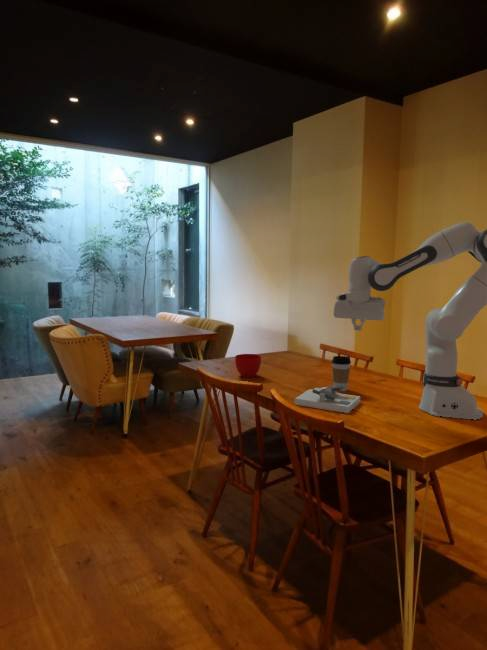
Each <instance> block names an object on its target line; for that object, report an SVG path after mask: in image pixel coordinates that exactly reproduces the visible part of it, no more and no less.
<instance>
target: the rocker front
mask: <svg viewBox="0 0 487 650" xmlns="http://www.w3.org/2000/svg"><path fill="white" fill-rule="evenodd" d="M312 390H313V393H315V394H318V395H320V393H322V394H325V397H326V398H328V399H331V400H333V401H334V400H335V399H336V398H337V395H335V394H332V393H330V392H327V391H324V390H322V389H321V387H320V388H319V387H315V388H313V389H312Z"/></svg>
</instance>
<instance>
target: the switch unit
mask: <svg viewBox="0 0 487 650" xmlns="http://www.w3.org/2000/svg"><path fill="white" fill-rule="evenodd" d="M330 387H334V385H330ZM324 391H327V392H330V393H332V394H335V395H337V398H336V399H335V400H334V401H333V400H331V399H328V398H326V397H325V394H322V393H320V395H318V394H315V393H313V389H311V388H310V389H308V390H306V391H304V392H302V394H300V395H298V396H296V397H294V405H295V404H296V406H302V407H308V408H314V409H321V410H327V411H332V412H337V413H338V412H339V413H343V412H344V413H345V414H349V413H351V412H352V411H351V410H352V409H353V410H354V409H355V408H356V407H357V406H358V405H359V404H360V403H361V396H360V395H355V394H354V395H353V394H346V393H339V392H337V391H332V389H326V390H324ZM350 411H351V412H350Z"/></svg>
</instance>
